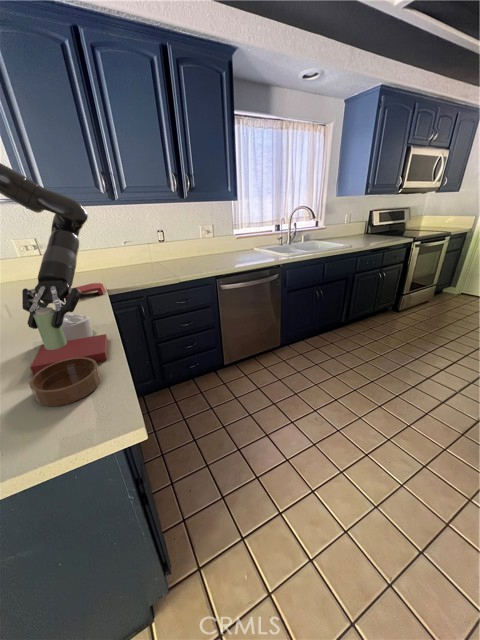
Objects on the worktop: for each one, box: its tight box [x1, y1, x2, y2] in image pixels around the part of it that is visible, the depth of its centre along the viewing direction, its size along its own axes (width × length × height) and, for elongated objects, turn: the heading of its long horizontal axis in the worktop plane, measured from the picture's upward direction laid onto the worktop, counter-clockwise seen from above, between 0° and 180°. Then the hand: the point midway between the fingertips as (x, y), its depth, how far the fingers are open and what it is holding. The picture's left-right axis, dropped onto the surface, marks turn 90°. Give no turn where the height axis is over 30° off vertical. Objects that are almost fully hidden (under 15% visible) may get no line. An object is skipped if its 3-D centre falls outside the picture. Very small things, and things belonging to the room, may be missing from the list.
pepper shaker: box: [33, 306, 67, 350], centre depth 67 cm, size 5×5×10 cm
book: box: [29, 333, 109, 376], centre depth 88 cm, size 20×14×3 cm
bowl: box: [29, 357, 102, 407], centre depth 72 cm, size 16×16×5 cm
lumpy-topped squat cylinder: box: [61, 313, 94, 341], centre depth 98 cm, size 10×13×9 cm
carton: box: [65, 282, 106, 299], centre depth 145 cm, size 12×5×25 cm
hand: (44, 327), depth 65 cm, fingers closed on pepper shaker, 4 cm apart
